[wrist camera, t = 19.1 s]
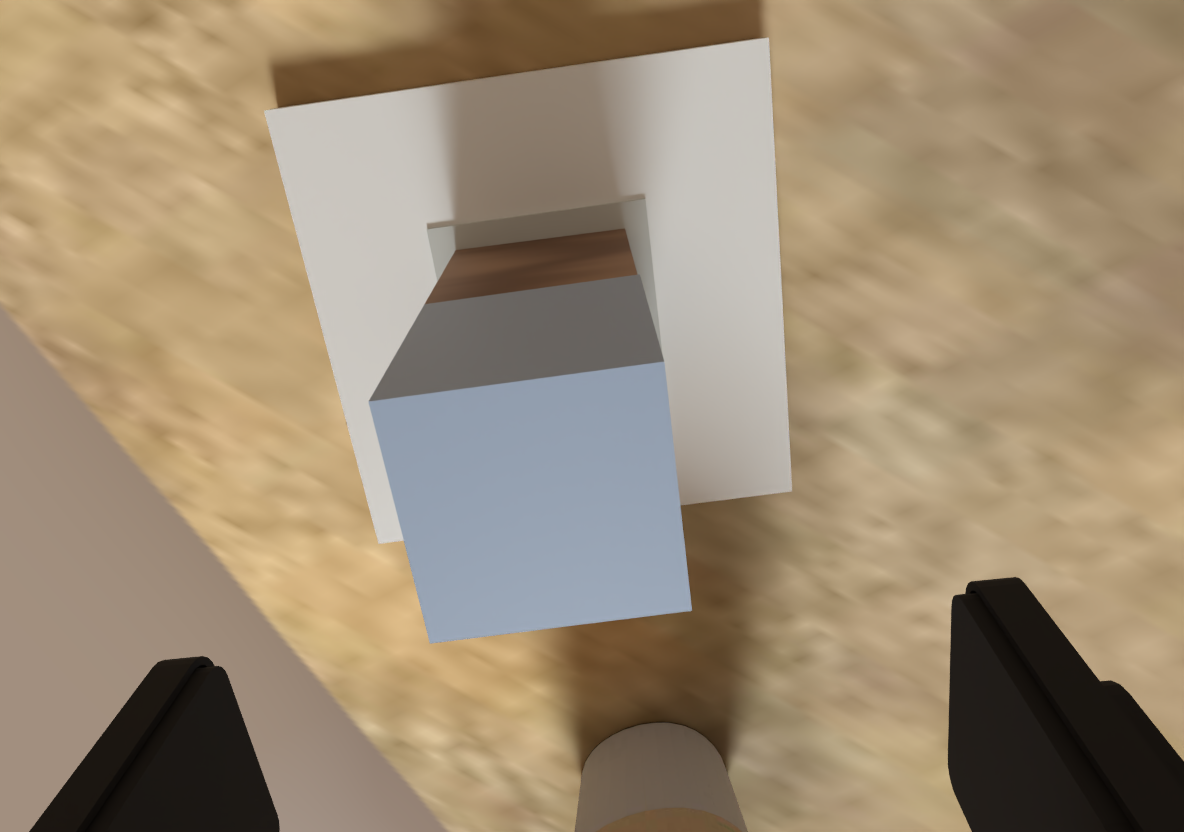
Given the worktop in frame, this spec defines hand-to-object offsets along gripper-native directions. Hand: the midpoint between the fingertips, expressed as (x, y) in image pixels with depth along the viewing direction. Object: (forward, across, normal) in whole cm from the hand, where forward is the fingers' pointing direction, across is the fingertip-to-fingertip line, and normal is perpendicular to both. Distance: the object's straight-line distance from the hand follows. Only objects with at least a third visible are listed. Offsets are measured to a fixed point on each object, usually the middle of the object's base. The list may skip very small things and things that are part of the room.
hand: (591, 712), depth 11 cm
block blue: (+11, +1, 0) cm, 11 cm away
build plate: (+18, +2, 0) cm, 18 cm away
